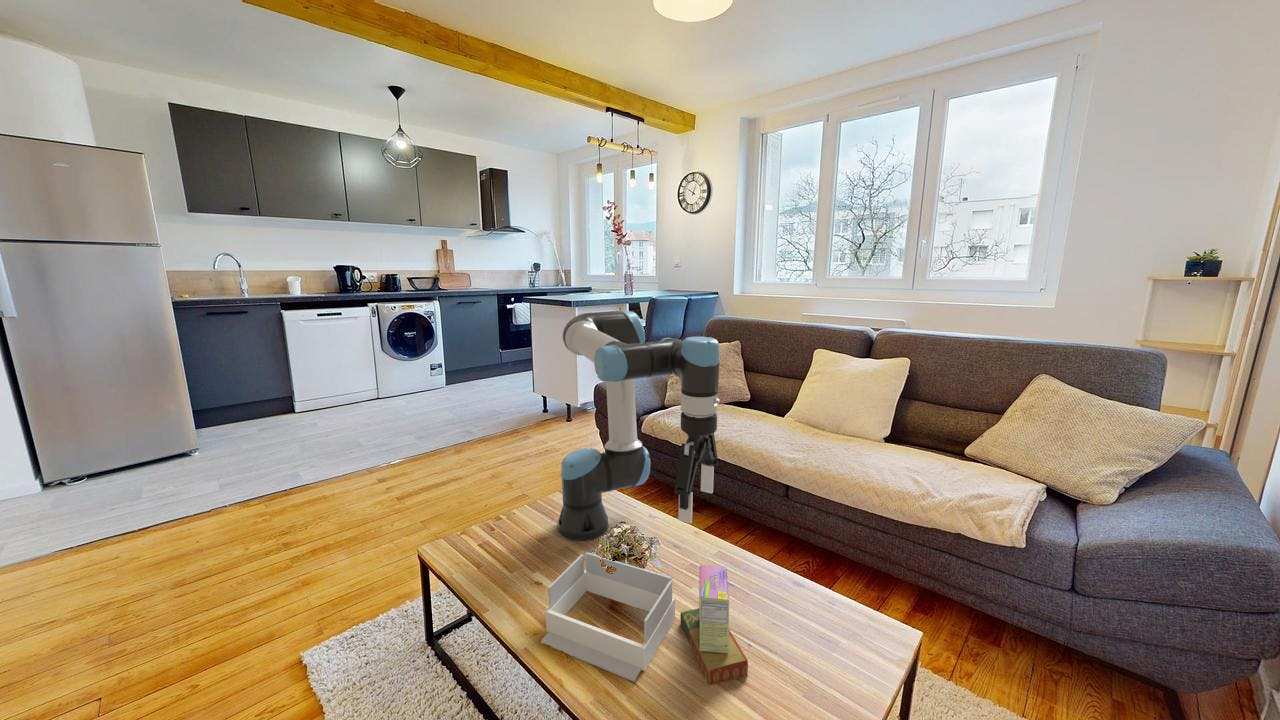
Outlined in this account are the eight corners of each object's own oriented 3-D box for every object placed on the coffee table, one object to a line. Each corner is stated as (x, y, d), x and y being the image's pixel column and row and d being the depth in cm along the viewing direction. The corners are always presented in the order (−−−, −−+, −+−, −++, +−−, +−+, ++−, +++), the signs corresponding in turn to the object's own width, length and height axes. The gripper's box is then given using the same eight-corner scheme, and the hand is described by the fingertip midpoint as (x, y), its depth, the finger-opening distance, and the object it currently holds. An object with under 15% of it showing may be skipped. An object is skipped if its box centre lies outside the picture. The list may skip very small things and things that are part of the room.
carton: (708, 689, 86) (707, 670, 86) (679, 627, 102) (679, 610, 101) (748, 678, 88) (748, 659, 88) (714, 619, 104) (714, 602, 103)
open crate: (537, 641, 97) (534, 599, 95) (585, 587, 114) (584, 550, 112) (638, 683, 87) (637, 637, 85) (675, 617, 103) (675, 577, 101)
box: (699, 613, 100) (699, 564, 98) (726, 615, 99) (727, 566, 97) (698, 652, 90) (699, 597, 87) (728, 654, 89) (729, 600, 87)
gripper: (695, 435, 83) (692, 540, 88) (733, 398, 105) (729, 484, 109) (657, 428, 86) (656, 530, 91) (701, 394, 108) (699, 478, 113)
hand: (696, 505), depth 100 cm, fingers open, 13 cm apart
